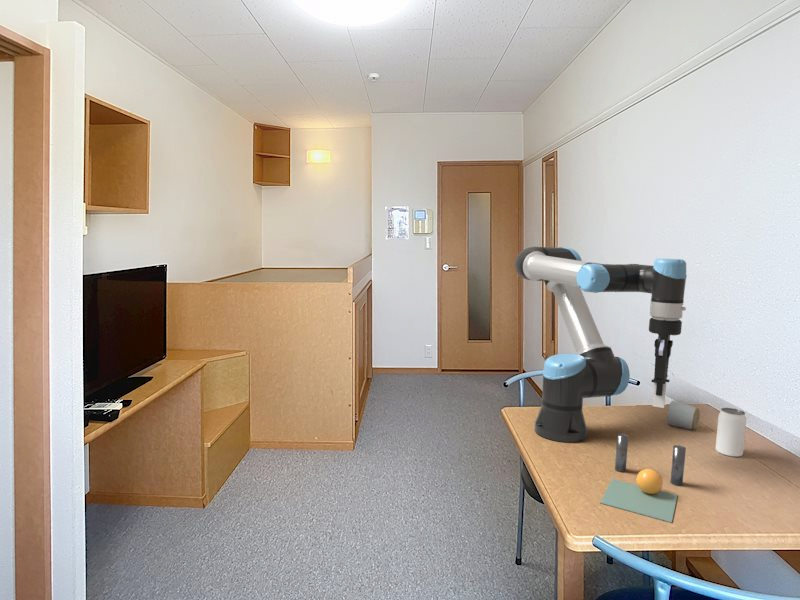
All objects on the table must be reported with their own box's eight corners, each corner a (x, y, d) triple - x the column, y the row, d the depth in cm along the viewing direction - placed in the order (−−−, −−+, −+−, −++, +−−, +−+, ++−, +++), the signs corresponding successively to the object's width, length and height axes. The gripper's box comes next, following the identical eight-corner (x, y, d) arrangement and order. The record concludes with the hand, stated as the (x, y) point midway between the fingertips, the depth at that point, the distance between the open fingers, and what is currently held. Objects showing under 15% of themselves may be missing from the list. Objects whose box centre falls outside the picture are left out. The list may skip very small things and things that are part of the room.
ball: (636, 472, 123) (634, 494, 120) (638, 462, 119) (636, 485, 116) (662, 477, 121) (660, 500, 118) (664, 468, 117) (663, 491, 114)
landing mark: (600, 503, 113) (600, 502, 113) (612, 479, 125) (612, 478, 125) (671, 523, 106) (671, 522, 106) (677, 495, 118) (677, 494, 118)
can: (747, 458, 140) (751, 415, 138) (720, 456, 141) (724, 413, 140) (736, 449, 146) (740, 408, 145) (711, 447, 147) (715, 406, 146)
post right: (669, 483, 124) (673, 447, 123) (670, 479, 126) (674, 444, 125) (682, 486, 122) (685, 450, 121) (682, 482, 124) (686, 446, 123)
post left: (613, 470, 130) (616, 436, 129) (615, 466, 132) (618, 432, 131) (624, 473, 129) (627, 438, 128) (626, 469, 131) (629, 435, 130)
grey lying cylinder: (694, 433, 158) (696, 409, 157) (665, 426, 163) (667, 403, 163) (701, 425, 166) (703, 402, 165) (673, 419, 171) (675, 396, 171)
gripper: (680, 322, 127) (672, 415, 129) (683, 317, 137) (676, 403, 140) (646, 319, 131) (639, 410, 133) (652, 314, 141) (646, 397, 144)
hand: (658, 406), depth 137 cm, fingers closed
